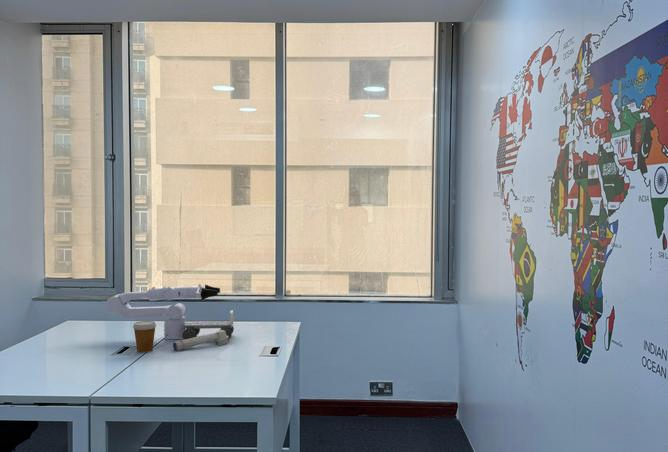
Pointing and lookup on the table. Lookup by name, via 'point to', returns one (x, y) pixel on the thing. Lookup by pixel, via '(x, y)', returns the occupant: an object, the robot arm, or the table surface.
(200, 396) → the table surface
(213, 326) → the trolley
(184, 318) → the robot arm
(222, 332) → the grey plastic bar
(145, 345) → the disposable coffee cup
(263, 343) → the table surface
